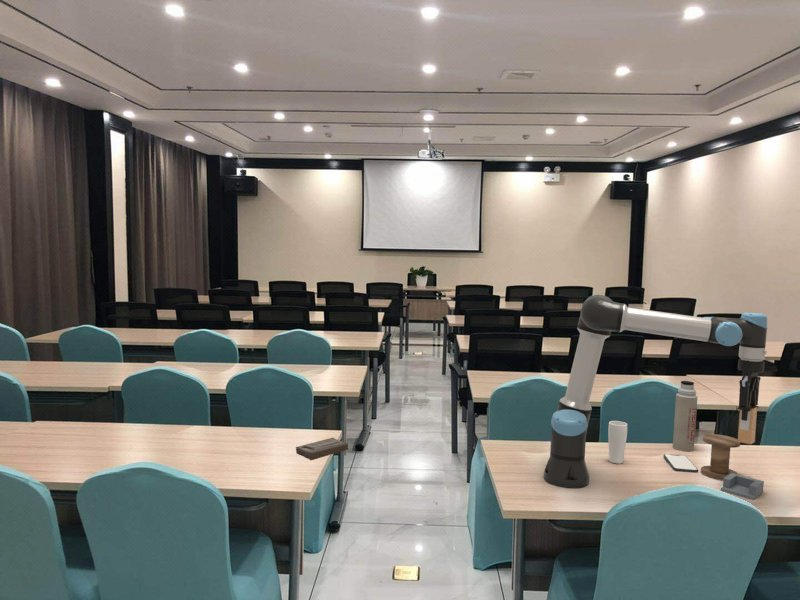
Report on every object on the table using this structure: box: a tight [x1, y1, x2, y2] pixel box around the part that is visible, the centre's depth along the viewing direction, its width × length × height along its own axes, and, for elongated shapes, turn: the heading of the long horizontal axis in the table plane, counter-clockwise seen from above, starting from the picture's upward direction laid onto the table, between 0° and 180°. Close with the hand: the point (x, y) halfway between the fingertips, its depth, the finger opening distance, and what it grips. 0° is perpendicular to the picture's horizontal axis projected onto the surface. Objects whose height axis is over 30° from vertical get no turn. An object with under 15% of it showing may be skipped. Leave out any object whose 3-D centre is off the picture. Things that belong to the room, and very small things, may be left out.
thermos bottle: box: [672, 380, 698, 453], centre depth 247 cm, size 8×8×28 cm
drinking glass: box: [607, 420, 628, 465], centre depth 229 cm, size 7×7×15 cm
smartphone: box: [663, 453, 699, 474], centre depth 228 cm, size 9×2×16 cm
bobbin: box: [700, 433, 741, 481], centre depth 218 cm, size 12×12×13 cm
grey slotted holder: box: [720, 473, 765, 500], centre depth 203 cm, size 10×10×4 cm
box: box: [295, 437, 349, 461], centre depth 231 cm, size 11×17×3 cm, turn 132°
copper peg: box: [737, 406, 758, 445], centre depth 201 cm, size 4×4×12 cm
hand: (746, 428), depth 202 cm, fingers closed on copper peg, 4 cm apart
